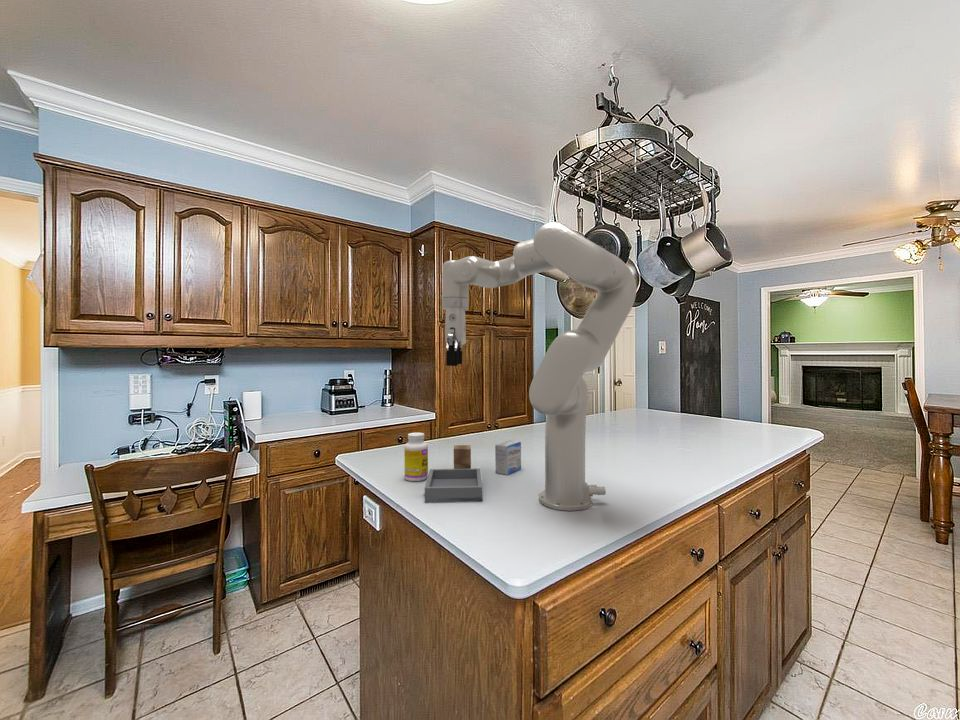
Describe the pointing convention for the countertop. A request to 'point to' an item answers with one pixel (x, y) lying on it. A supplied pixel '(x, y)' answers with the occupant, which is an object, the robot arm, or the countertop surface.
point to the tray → (453, 485)
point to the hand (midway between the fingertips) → (454, 364)
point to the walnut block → (462, 456)
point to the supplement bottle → (416, 458)
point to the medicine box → (508, 457)
